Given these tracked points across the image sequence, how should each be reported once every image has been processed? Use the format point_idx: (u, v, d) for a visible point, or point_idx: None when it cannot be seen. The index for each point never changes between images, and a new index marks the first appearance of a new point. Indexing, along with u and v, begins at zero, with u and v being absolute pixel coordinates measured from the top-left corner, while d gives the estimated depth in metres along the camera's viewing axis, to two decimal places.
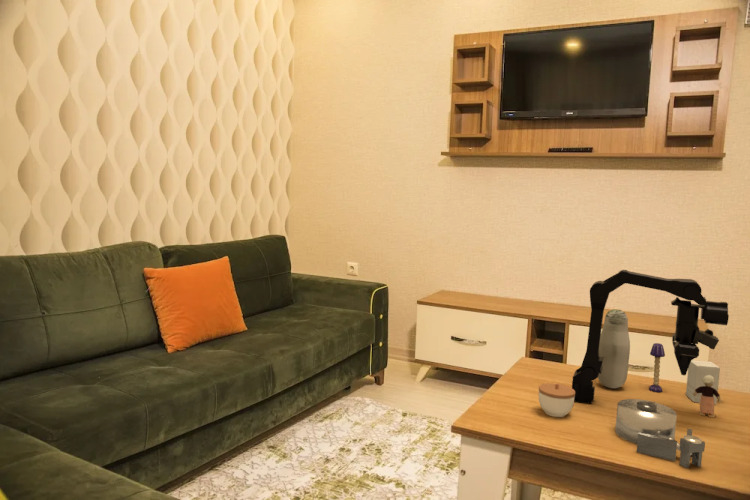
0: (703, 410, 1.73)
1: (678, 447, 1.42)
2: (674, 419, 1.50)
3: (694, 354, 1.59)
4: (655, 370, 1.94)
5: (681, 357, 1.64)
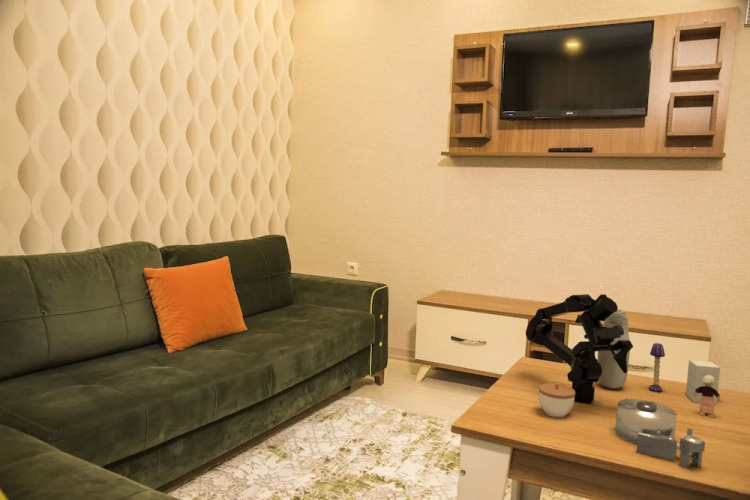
0: (703, 410, 1.73)
1: (678, 447, 1.42)
2: (674, 419, 1.50)
3: (580, 348, 1.69)
4: (655, 370, 1.94)
5: (587, 359, 1.71)
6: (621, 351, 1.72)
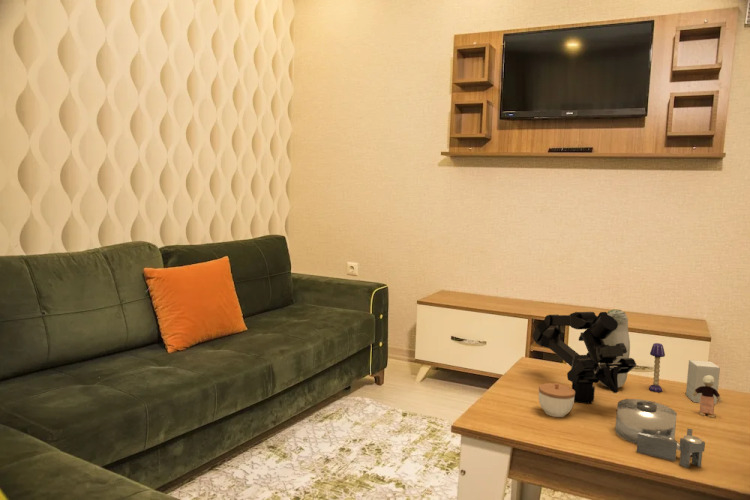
0: (703, 410, 1.73)
1: (678, 447, 1.42)
2: (674, 419, 1.50)
3: (582, 367, 1.67)
4: (655, 370, 1.94)
5: (602, 377, 1.70)
6: (612, 370, 1.69)
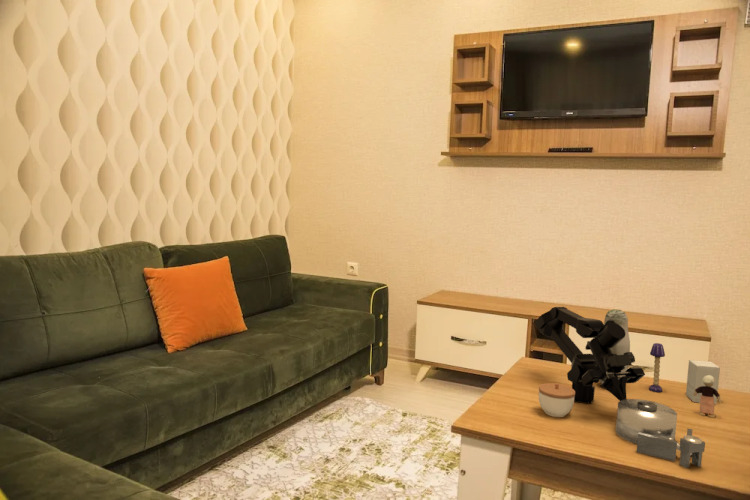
0: (703, 410, 1.73)
1: (678, 447, 1.42)
2: (674, 419, 1.50)
3: (589, 376, 1.64)
4: (655, 370, 1.94)
5: (610, 386, 1.66)
6: (620, 380, 1.66)
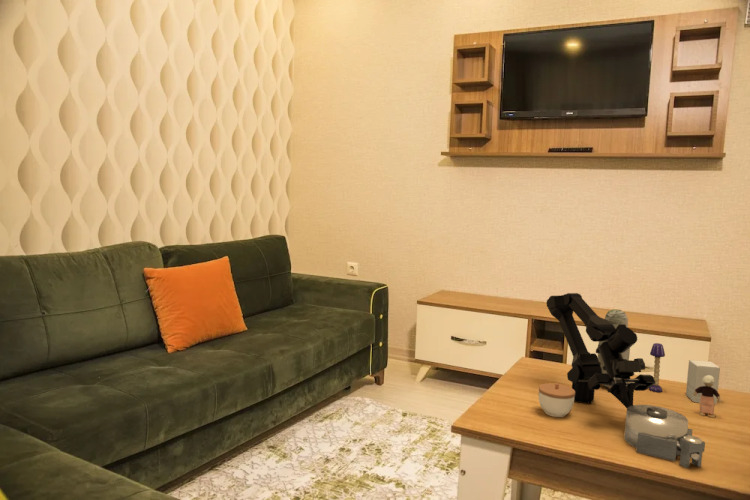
0: (703, 410, 1.73)
1: None
2: (687, 425, 1.46)
3: (596, 380, 1.59)
4: (655, 370, 1.94)
5: (617, 392, 1.61)
6: (628, 386, 1.60)
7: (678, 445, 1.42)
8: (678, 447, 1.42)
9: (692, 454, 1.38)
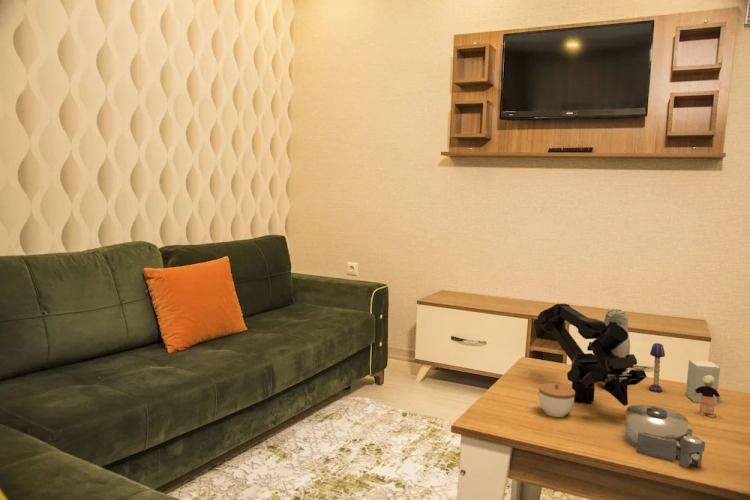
0: (703, 410, 1.73)
1: None
2: (686, 425, 1.46)
3: (591, 379, 1.63)
4: (655, 370, 1.94)
5: (611, 388, 1.66)
6: (621, 382, 1.65)
7: (678, 445, 1.42)
8: (678, 447, 1.42)
9: (692, 454, 1.38)
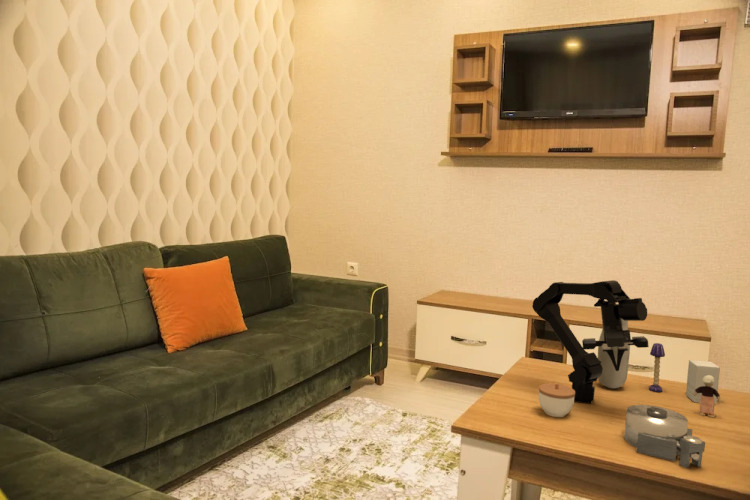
0: (703, 410, 1.73)
1: None
2: (686, 425, 1.46)
3: (582, 347, 1.74)
4: (655, 370, 1.94)
5: None
6: (617, 350, 1.71)
7: (678, 445, 1.42)
8: (678, 447, 1.42)
9: (692, 454, 1.38)
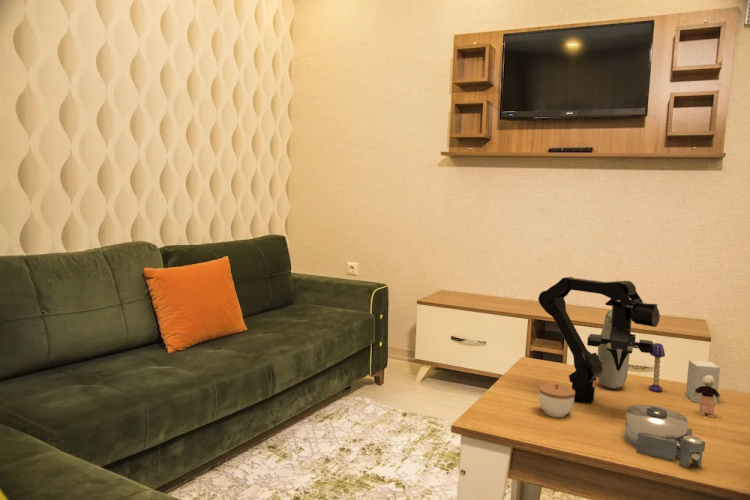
0: (703, 410, 1.73)
1: None
2: (686, 425, 1.46)
3: (587, 343, 1.75)
4: (655, 370, 1.94)
5: None
6: None
7: (678, 445, 1.42)
8: (678, 447, 1.42)
9: (692, 454, 1.38)
